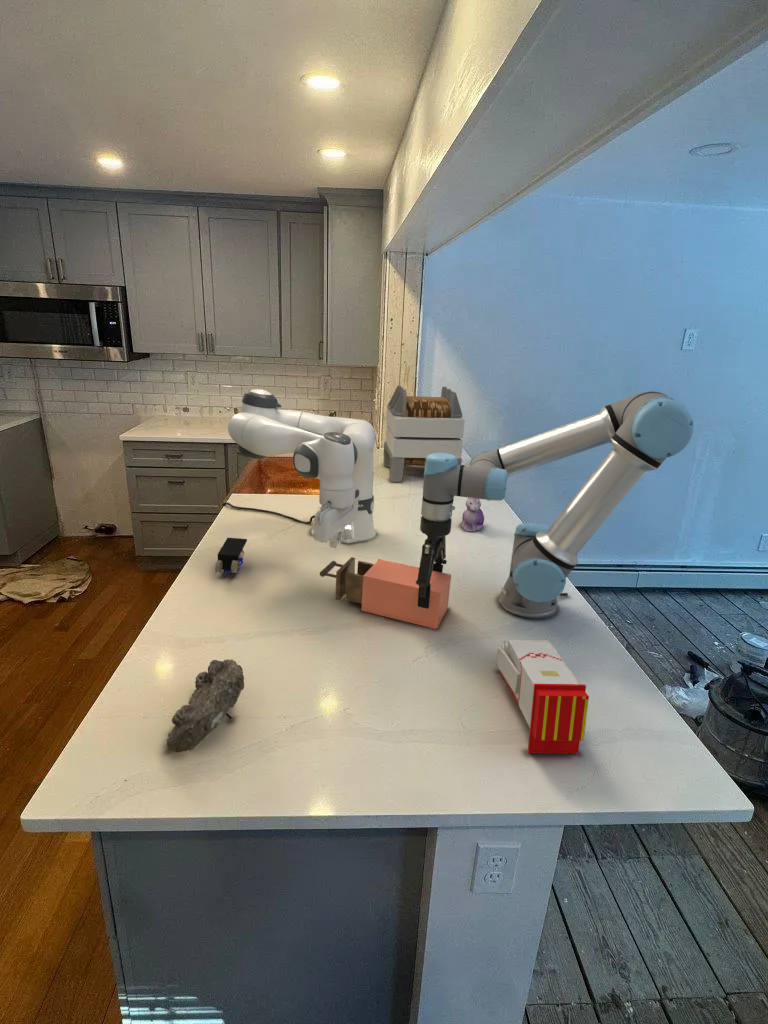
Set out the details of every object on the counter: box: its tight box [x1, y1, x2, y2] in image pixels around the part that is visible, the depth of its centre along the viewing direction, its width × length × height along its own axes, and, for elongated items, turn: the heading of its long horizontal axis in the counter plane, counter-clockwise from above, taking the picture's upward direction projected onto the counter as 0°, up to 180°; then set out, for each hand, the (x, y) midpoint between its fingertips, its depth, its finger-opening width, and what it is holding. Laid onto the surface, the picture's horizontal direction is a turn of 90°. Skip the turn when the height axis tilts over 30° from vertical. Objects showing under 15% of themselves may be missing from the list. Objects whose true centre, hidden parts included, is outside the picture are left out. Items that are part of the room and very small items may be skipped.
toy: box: [495, 639, 590, 754], centre depth 114 cm, size 12×13×30 cm
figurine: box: [461, 497, 485, 532], centre depth 206 cm, size 9×10×15 cm
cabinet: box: [361, 558, 452, 630], centre depth 148 cm, size 20×11×10 cm, turn 70°
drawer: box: [319, 556, 375, 605], centre depth 151 cm, size 24×10×8 cm, turn 70°
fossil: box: [166, 658, 245, 754], centre depth 106 cm, size 22×10×15 cm
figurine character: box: [214, 537, 248, 578], centre depth 166 cm, size 7×8×15 cm
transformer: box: [383, 384, 465, 483], centre depth 268 cm, size 34×33×41 cm
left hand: (335, 545), depth 151 cm, fingers closed
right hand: (429, 596), depth 146 cm, fingers closed on cabinet, 11 cm apart
